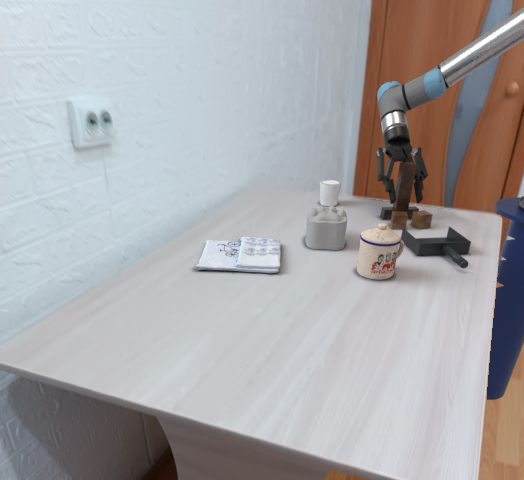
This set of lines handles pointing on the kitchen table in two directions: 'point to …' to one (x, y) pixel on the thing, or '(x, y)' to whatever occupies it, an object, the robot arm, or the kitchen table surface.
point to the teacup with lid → (379, 252)
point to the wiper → (402, 192)
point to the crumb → (421, 219)
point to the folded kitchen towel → (241, 255)
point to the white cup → (329, 192)
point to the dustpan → (440, 246)
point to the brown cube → (398, 220)
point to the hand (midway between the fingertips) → (406, 201)
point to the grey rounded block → (326, 228)
